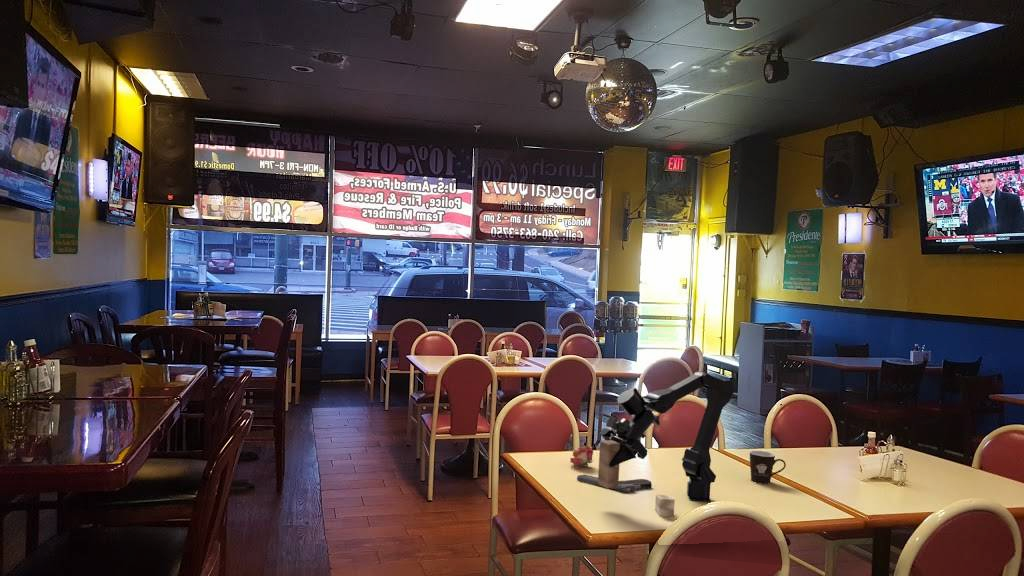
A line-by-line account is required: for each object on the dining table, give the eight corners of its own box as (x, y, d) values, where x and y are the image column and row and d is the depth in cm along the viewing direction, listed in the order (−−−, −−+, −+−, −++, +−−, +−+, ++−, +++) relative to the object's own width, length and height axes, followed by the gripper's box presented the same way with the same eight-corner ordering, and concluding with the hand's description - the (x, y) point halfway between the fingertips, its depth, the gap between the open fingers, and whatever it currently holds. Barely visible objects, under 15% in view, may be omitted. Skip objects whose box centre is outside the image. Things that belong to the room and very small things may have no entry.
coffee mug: (743, 480, 260) (745, 452, 260) (754, 476, 266) (755, 449, 266) (775, 488, 252) (777, 459, 252) (785, 484, 258) (787, 456, 258)
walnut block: (609, 482, 223) (611, 440, 223) (618, 487, 218) (620, 443, 218) (597, 483, 221) (600, 440, 221) (606, 488, 217) (609, 444, 217)
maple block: (669, 511, 220) (670, 495, 220) (673, 516, 215) (674, 499, 215) (654, 511, 219) (655, 494, 219) (659, 516, 215) (660, 499, 215)
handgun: (598, 468, 259) (575, 474, 248) (654, 480, 245) (633, 487, 234) (598, 476, 259) (575, 482, 248) (653, 488, 245) (632, 496, 234)
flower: (603, 463, 267) (594, 443, 271) (592, 462, 260) (583, 441, 263) (581, 474, 271) (573, 454, 274) (570, 474, 263) (561, 453, 266)
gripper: (606, 402, 230) (574, 438, 225) (641, 413, 213) (607, 453, 208) (626, 426, 233) (594, 462, 229) (661, 439, 216) (628, 478, 212)
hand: (605, 463), depth 219 cm, fingers closed on walnut block, 5 cm apart
